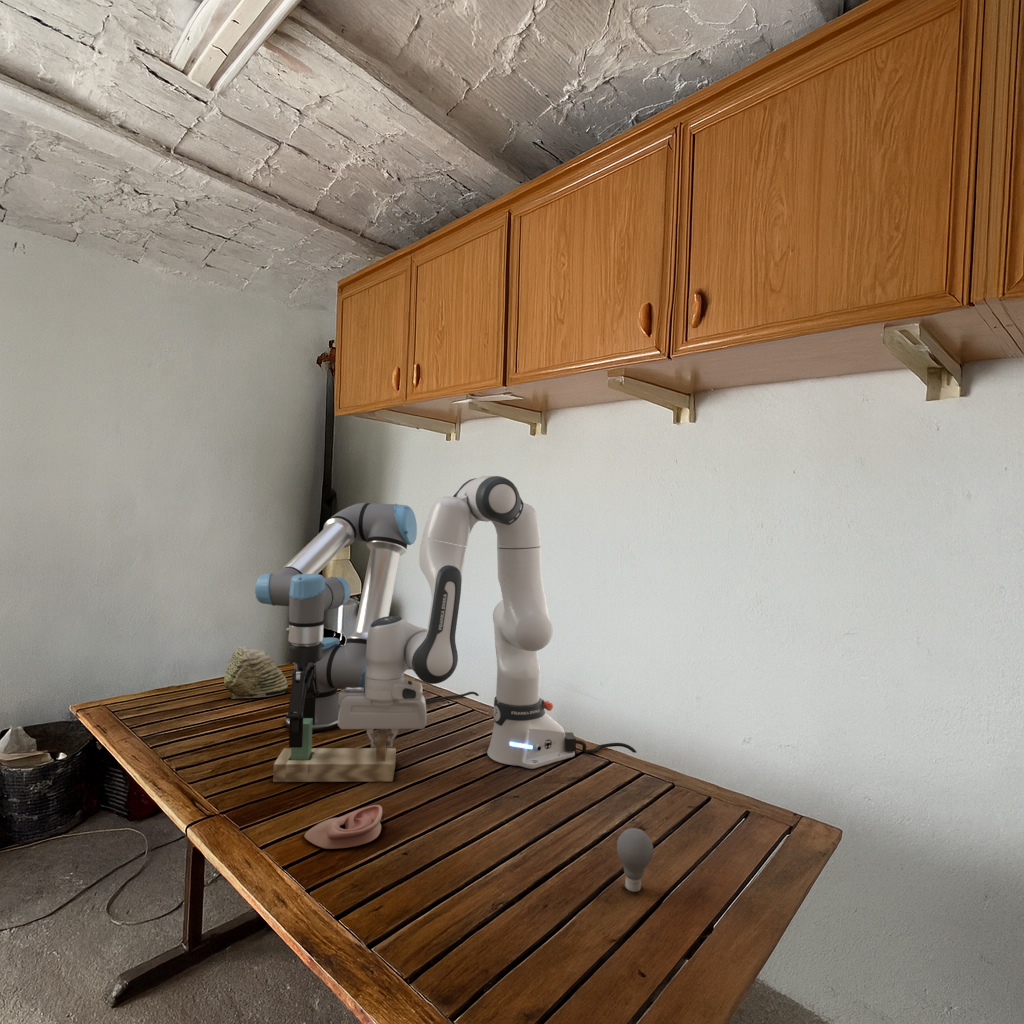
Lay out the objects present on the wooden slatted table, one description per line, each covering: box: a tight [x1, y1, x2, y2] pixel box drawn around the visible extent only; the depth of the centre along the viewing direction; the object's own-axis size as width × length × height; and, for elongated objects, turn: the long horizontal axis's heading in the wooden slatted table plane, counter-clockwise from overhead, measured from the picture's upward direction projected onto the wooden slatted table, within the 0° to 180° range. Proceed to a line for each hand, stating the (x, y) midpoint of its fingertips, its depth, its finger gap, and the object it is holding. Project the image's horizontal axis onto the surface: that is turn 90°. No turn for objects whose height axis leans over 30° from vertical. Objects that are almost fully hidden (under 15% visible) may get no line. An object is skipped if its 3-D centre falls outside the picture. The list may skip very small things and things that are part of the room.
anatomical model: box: [303, 804, 383, 850], centre depth 119 cm, size 13×4×12 cm
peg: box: [291, 718, 313, 760], centre depth 144 cm, size 4×4×12 cm
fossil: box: [223, 646, 289, 700], centre depth 198 cm, size 9×18×15 cm, turn 132°
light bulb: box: [616, 827, 654, 893], centre depth 106 cm, size 6×6×10 cm
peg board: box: [272, 729, 397, 783], centre depth 145 cm, size 26×9×10 cm, turn 96°
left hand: (302, 735), depth 145 cm, fingers open, 13 cm apart
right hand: (382, 746), depth 146 cm, fingers closed on peg board, 2 cm apart
